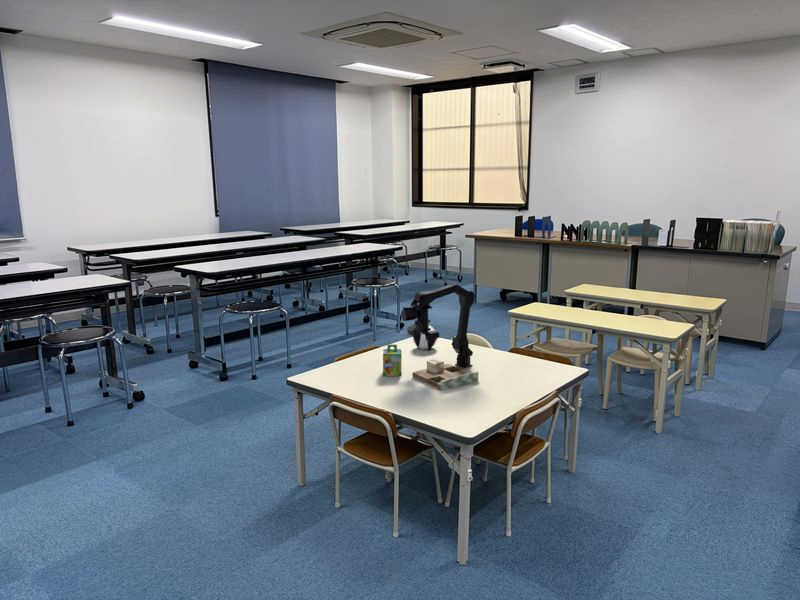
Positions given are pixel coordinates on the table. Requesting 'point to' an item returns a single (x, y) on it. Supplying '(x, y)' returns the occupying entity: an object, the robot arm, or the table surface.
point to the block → (435, 365)
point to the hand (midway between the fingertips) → (423, 348)
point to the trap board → (446, 377)
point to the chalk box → (392, 361)
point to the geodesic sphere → (423, 342)
